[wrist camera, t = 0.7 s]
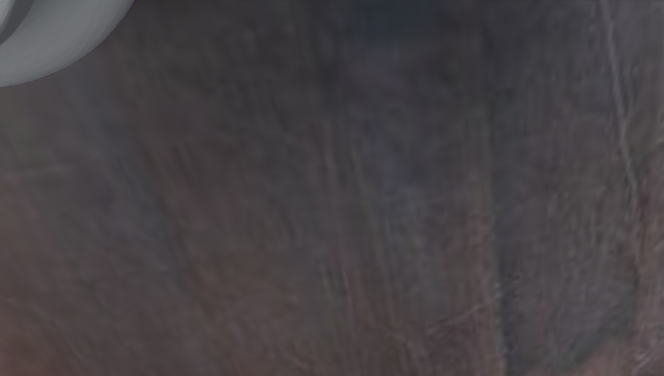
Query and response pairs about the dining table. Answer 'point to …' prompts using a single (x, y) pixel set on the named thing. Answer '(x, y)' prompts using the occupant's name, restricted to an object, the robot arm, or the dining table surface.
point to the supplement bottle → (52, 34)
